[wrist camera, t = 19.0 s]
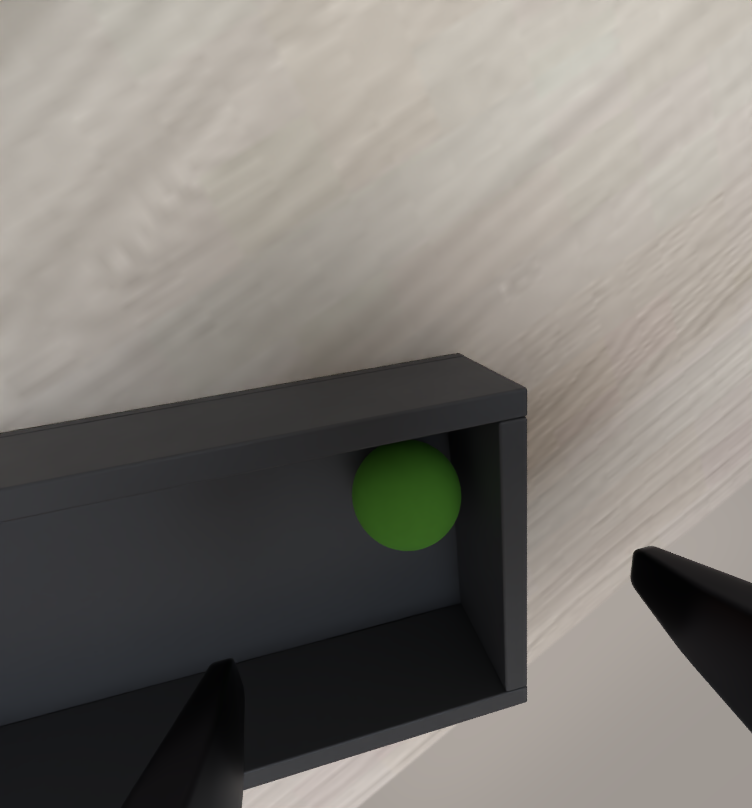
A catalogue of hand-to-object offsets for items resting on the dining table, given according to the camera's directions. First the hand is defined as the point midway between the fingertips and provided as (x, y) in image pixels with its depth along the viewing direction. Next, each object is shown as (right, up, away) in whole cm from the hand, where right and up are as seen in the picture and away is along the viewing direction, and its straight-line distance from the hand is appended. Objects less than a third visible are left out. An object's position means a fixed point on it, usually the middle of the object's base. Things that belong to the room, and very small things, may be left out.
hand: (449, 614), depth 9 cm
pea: (-1, +2, +6) cm, 6 cm away
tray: (-10, -1, +6) cm, 12 cm away
